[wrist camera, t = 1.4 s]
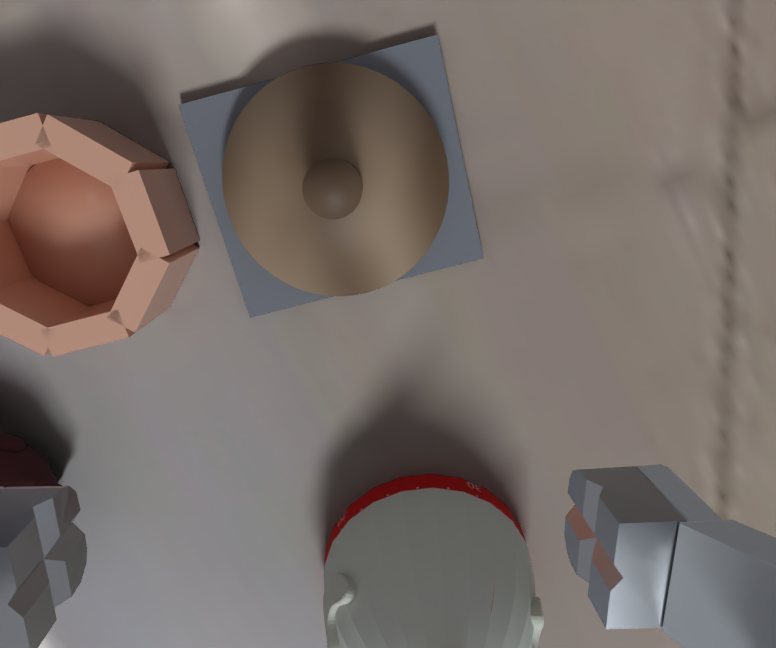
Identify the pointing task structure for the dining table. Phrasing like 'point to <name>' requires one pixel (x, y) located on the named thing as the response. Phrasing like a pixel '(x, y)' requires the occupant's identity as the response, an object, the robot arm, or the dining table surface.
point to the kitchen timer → (429, 570)
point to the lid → (335, 179)
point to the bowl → (86, 234)
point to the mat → (426, 84)
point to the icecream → (23, 465)
